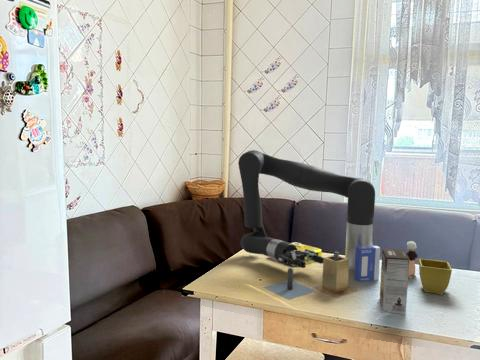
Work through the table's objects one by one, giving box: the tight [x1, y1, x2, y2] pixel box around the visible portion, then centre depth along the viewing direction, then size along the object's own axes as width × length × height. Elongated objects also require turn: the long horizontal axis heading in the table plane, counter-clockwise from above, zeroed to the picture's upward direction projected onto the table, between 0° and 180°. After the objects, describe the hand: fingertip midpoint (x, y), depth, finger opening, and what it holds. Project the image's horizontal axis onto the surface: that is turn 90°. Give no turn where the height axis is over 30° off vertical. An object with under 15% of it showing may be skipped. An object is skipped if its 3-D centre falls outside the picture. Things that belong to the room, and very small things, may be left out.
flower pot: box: [418, 258, 453, 295], centre depth 133 cm, size 9×9×9 cm
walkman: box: [354, 245, 381, 282], centre depth 141 cm, size 8×3×12 cm, turn 102°
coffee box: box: [379, 248, 410, 315], centre depth 120 cm, size 9×6×16 cm
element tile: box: [290, 241, 323, 265], centre depth 166 cm, size 15×15×5 cm
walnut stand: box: [311, 251, 358, 298], centre depth 132 cm, size 10×10×12 cm
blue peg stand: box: [263, 267, 317, 300], centre depth 131 cm, size 12×12×7 cm
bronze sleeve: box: [321, 254, 350, 294], centre depth 132 cm, size 6×6×10 cm
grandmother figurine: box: [406, 240, 419, 279], centre depth 146 cm, size 8×4×13 cm, turn 135°
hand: (313, 262), depth 139 cm, fingers open, 8 cm apart
